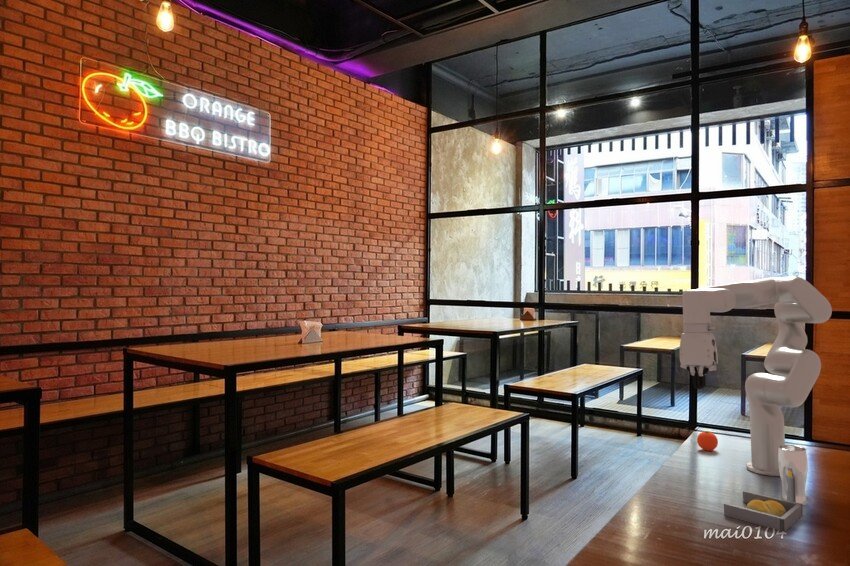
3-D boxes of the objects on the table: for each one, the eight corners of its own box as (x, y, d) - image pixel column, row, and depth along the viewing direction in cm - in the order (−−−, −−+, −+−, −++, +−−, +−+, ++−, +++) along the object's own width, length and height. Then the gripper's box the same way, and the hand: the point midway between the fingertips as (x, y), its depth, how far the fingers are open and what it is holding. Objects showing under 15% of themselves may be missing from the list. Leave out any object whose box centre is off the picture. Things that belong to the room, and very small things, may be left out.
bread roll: (744, 508, 151) (743, 493, 151) (782, 512, 147) (781, 497, 148) (750, 520, 143) (749, 504, 143) (790, 524, 140) (790, 508, 140)
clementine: (699, 446, 209) (698, 427, 209) (720, 448, 205) (719, 429, 205) (695, 451, 203) (695, 432, 203) (716, 454, 199) (716, 434, 199)
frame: (744, 501, 155) (744, 490, 155) (802, 515, 144) (802, 504, 144) (724, 515, 146) (723, 503, 146) (784, 531, 135) (784, 519, 135)
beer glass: (814, 507, 150) (812, 451, 150) (785, 505, 151) (783, 451, 151) (802, 497, 156) (800, 444, 157) (775, 496, 158) (773, 444, 158)
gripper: (727, 329, 168) (729, 389, 168) (678, 327, 180) (680, 384, 179) (717, 330, 163) (719, 393, 163) (667, 329, 175) (669, 387, 174)
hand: (699, 388), depth 171 cm, fingers closed
